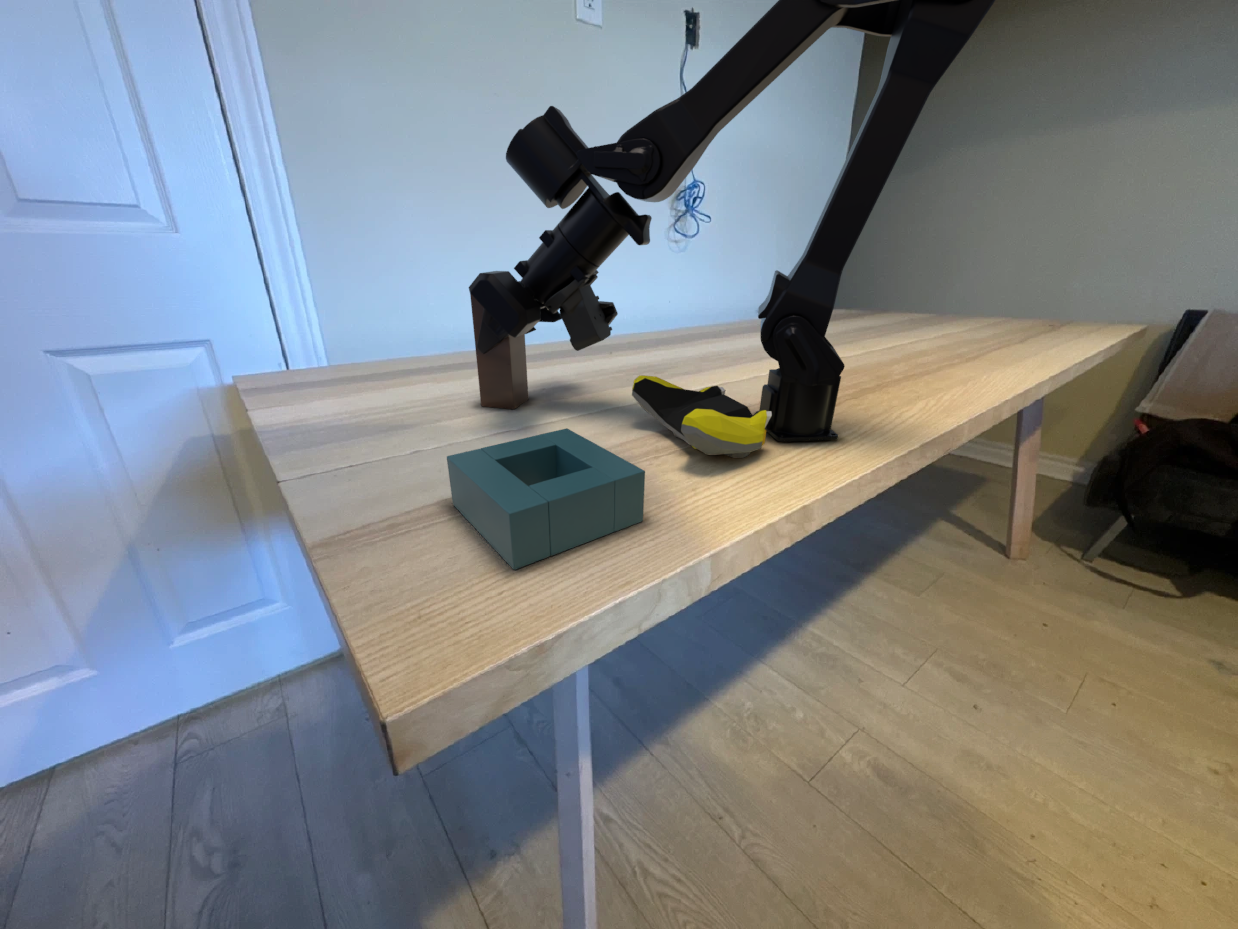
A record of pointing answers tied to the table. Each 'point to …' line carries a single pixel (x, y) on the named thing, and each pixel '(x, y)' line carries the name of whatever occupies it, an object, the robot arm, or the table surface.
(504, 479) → the base pad
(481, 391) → the pad post
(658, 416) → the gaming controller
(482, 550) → the table surface
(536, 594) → the table surface
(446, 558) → the table surface
